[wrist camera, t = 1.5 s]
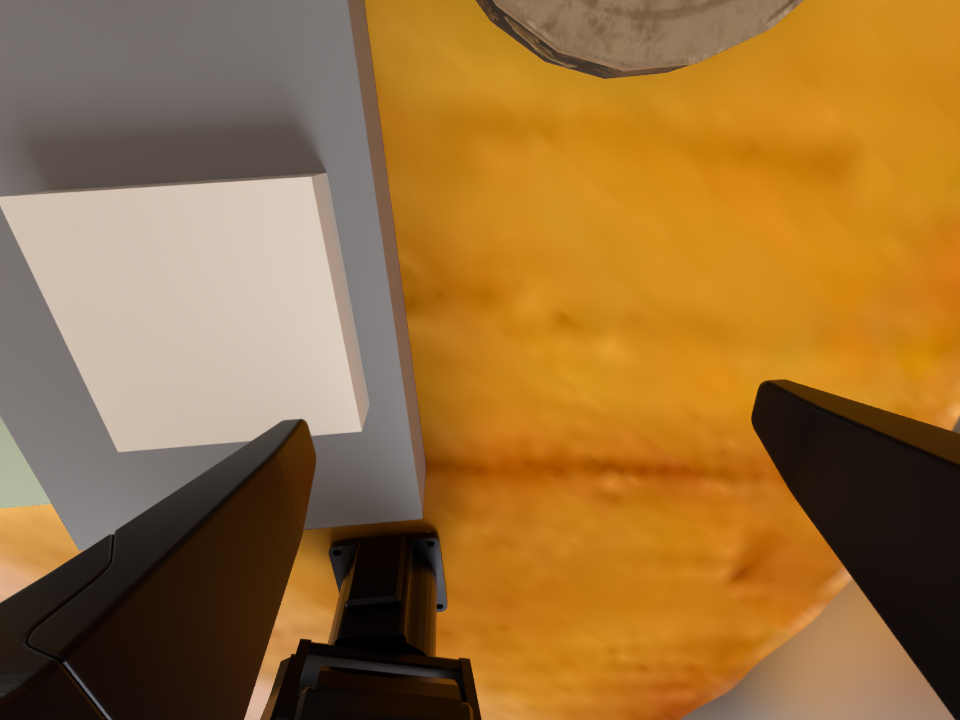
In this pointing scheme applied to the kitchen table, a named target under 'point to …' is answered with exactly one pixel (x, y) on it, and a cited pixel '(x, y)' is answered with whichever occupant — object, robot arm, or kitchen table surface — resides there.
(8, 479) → the rubber mat
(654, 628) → the kitchen table surface
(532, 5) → the grey brown round disc
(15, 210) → the ceramic tile
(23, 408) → the gray rectangular block
